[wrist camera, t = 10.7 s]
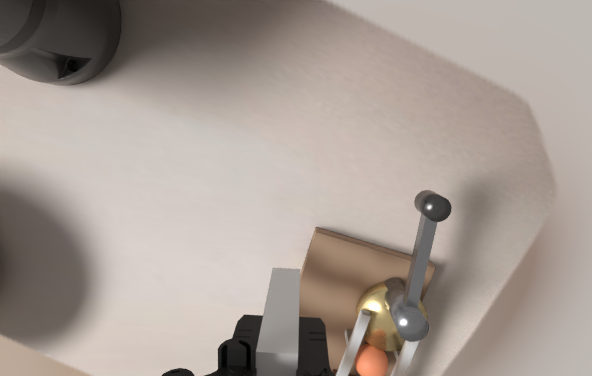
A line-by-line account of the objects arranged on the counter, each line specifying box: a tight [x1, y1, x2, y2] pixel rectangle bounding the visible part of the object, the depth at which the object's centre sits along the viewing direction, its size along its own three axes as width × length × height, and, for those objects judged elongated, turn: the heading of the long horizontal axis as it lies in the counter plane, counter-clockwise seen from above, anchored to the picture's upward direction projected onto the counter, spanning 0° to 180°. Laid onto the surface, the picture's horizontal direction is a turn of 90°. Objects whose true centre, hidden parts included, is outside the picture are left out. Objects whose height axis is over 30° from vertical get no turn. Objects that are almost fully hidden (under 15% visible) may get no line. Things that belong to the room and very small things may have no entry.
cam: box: [356, 190, 451, 351], centre depth 35 cm, size 10×19×8 cm, turn 152°
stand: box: [299, 227, 436, 376], centre depth 40 cm, size 22×15×6 cm
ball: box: [354, 344, 388, 376], centre depth 40 cm, size 4×4×4 cm
